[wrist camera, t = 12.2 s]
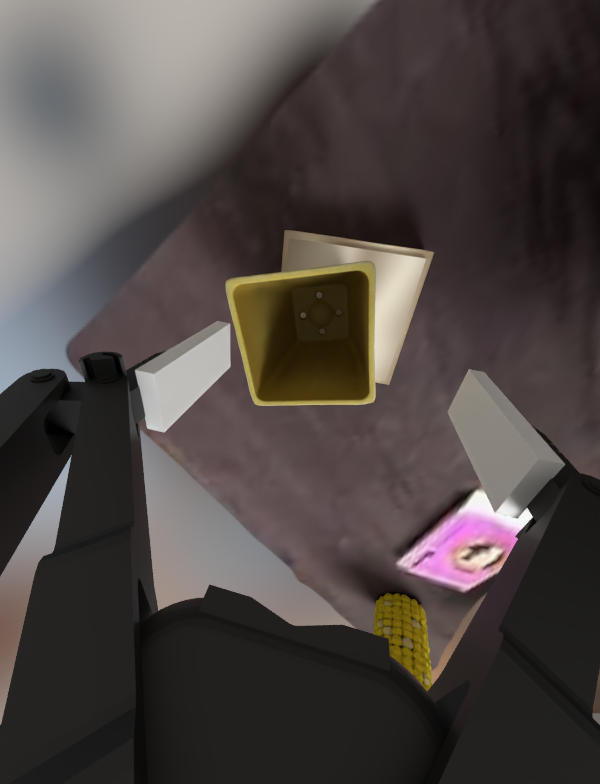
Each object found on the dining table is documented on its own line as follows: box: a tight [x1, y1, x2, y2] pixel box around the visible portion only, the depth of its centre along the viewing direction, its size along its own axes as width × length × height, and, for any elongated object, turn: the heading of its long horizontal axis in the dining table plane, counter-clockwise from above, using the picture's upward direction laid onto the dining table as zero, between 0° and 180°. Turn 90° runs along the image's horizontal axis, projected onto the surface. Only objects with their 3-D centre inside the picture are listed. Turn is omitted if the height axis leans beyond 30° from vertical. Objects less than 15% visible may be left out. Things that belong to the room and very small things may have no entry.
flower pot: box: [226, 261, 376, 406], centre depth 21 cm, size 9×9×9 cm
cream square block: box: [281, 230, 434, 385], centre depth 26 cm, size 12×12×4 cm
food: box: [373, 593, 432, 691], centre depth 48 cm, size 15×12×10 cm
